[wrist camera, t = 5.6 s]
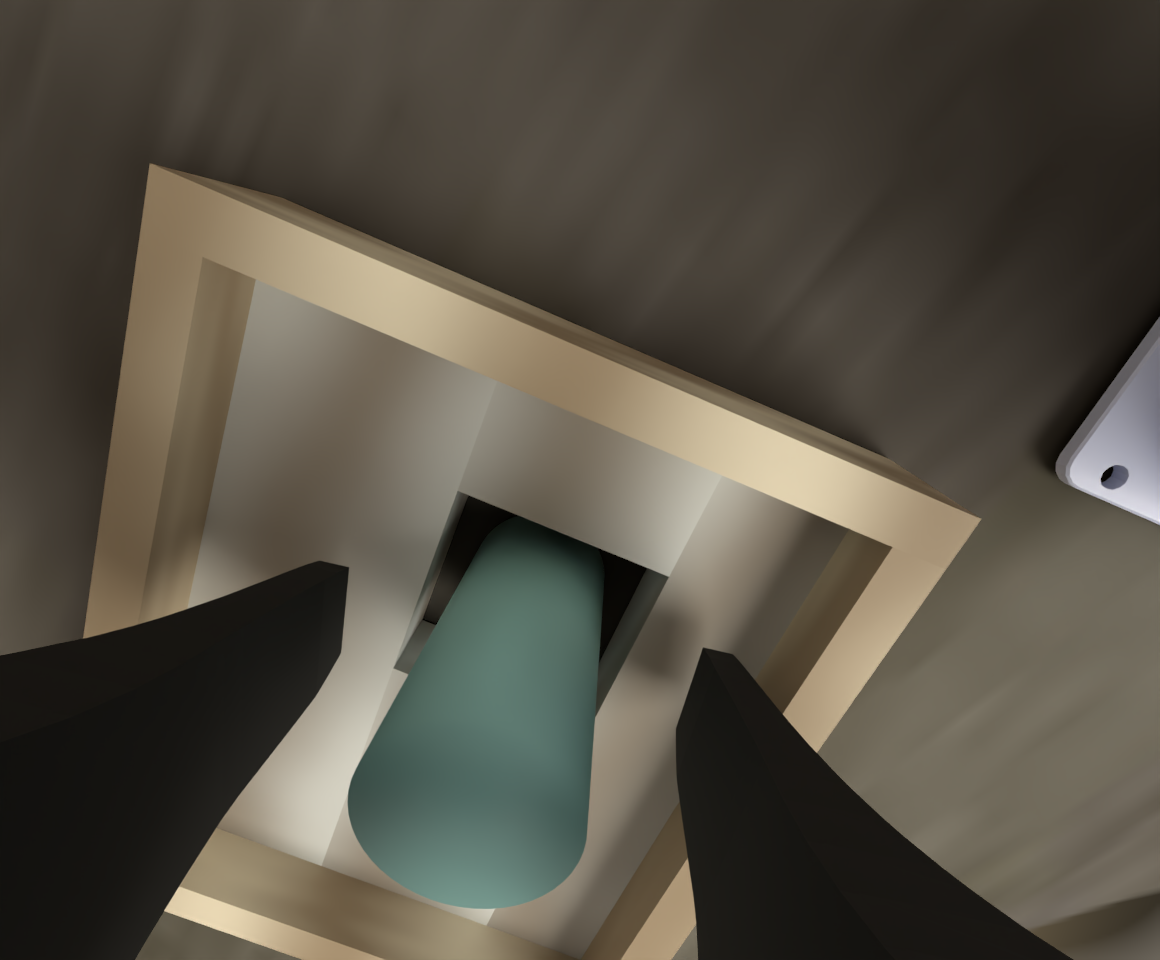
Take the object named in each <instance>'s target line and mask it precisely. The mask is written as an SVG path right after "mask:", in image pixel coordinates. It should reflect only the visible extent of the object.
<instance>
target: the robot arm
mask: <svg viewBox="0 0 1160 960" xmlns="http://www.w3.org/2000/svg"><path fill="white" fill-rule="evenodd" d="M1112 466H1113V473H1112V475H1111V477H1110V478H1108V479H1107V480H1106V481H1104V482H1101V477H1102V474H1103V472H1104V471H1106V470H1107V469H1108V468H1109V467H1112ZM1056 474H1057V476H1058V478H1059V479H1060V480H1061V481H1063V482H1064V483H1065V484H1067V485H1069V486H1072V487H1074V488H1076V489H1079V490H1081V491H1083V492H1085V493H1088V494H1090V495H1092V496H1095V497H1097V498H1099V499H1101V500H1104V501H1106V502H1108V503H1111V504H1113V505H1115V506H1117V507H1120V508H1122V509H1124V510H1127V511H1129V512H1131V513H1134V514H1136V515H1138V516H1140V517H1143V518H1145V519H1147V520H1150V521H1152V522H1154V523H1156V524H1159V525H1160V317H1159V318H1158V320H1157V321H1156V322H1155V324H1154V325H1153V327H1152V328H1151V329H1150V331H1149V332H1148V333H1147V335H1146V336H1145V338H1144V339H1143V340H1142V342H1141V343H1140V345H1139V346H1138V347H1137V349H1136V350H1135V351H1134V353H1133V354H1132V356H1131V357H1130V358H1129V360H1128V361H1127V362H1126V364H1125V365H1124V367H1123V368H1122V369H1121V371H1120V372H1119V374H1118V375H1117V376H1116V378H1115V379H1114V380H1113V382H1112V383H1111V385H1110V386H1109V387H1108V389H1107V390H1106V391H1105V393H1104V394H1103V396H1102V397H1101V398H1100V400H1099V401H1098V402H1097V404H1096V405H1095V407H1094V408H1093V409H1092V411H1091V412H1090V414H1089V415H1088V416H1087V418H1086V419H1085V420H1084V422H1083V423H1082V425H1081V426H1080V427H1079V429H1078V430H1077V431H1076V433H1075V434H1074V436H1073V437H1072V438H1071V440H1070V441H1069V443H1068V444H1067V445H1066V447H1065V448H1064V449H1063V451H1062V452H1061V454H1060V455H1059V457H1058V460H1057V462H1056ZM348 575H349V567H346V566H342V565H337V564H333V563H328V562H324V561H320V560H319V561H316V562H313V563H309V564H307V565H304V566H301V567H298V568H296V569H293V570H290V571H288V572H285V573H282V574H280V575H277V576H275V577H272V578H270V579H267V580H265V581H262V582H259V583H257V584H254V585H252V586H249V587H246V588H244V589H241V590H239V591H236V592H233V593H231V594H228V595H226V596H223V597H220V598H217V599H214V600H211V601H208V602H205V603H203V604H200V605H197V606H194V607H191V608H188V609H185V610H182V611H179V612H176V613H173V614H170V615H168V616H164V617H161V618H158V619H155V620H151V621H148V622H145V623H141V624H138V625H134V626H131V627H127V628H123V629H119V630H115V631H112V632H108V633H104V634H100V635H96V636H92V637H88V638H84V639H79V640H75V641H70V642H65V643H60V644H55V645H50V646H46V647H41V648H36V649H31V650H26V651H21V652H16V653H12V654H6V655H1V656H0V960H135V959H136V957H137V955H138V953H139V952H140V950H141V948H142V947H143V945H144V943H145V941H146V940H147V938H148V936H149V935H150V933H151V932H152V930H153V928H154V927H155V925H156V923H157V922H158V920H159V918H160V917H161V915H162V914H163V912H164V910H165V909H166V907H167V905H168V904H169V902H170V901H171V899H172V897H173V896H174V894H175V892H176V891H177V889H178V887H179V886H180V884H181V883H182V881H183V879H184V878H185V876H186V874H187V873H188V871H189V870H190V868H191V867H192V865H193V864H194V862H195V860H196V859H197V857H198V856H199V854H200V853H201V851H202V849H203V848H204V846H205V845H206V843H207V842H208V840H209V839H210V837H211V835H212V834H213V832H214V831H215V829H216V828H217V826H218V825H219V823H220V821H221V820H222V818H223V817H224V816H225V814H226V813H227V812H228V810H229V809H230V807H231V806H232V805H233V803H234V802H235V800H236V799H237V798H238V796H239V795H240V794H241V792H242V791H243V790H244V788H245V787H246V786H247V785H248V783H249V782H250V781H251V780H252V778H253V777H254V776H255V774H256V773H257V772H258V771H259V769H260V768H261V767H262V765H263V764H264V763H265V762H266V760H267V759H268V758H269V756H270V755H271V754H272V753H273V751H274V750H275V749H276V748H277V746H278V745H279V744H280V742H281V741H282V740H283V739H284V737H285V736H286V735H287V733H288V732H289V731H290V730H291V728H292V727H293V726H294V724H295V723H296V722H297V720H298V719H299V718H300V717H301V715H302V714H303V713H304V711H305V710H306V709H307V707H308V706H309V705H310V703H311V702H312V701H313V699H314V698H315V697H316V695H317V694H318V692H319V690H320V689H321V687H322V685H323V684H324V682H325V680H326V679H327V677H328V675H329V674H330V672H331V670H332V668H333V667H334V665H335V663H336V661H337V659H338V658H339V656H340V654H341V649H342V639H343V628H344V617H345V607H346V596H347V586H348ZM676 776H677V785H678V793H679V800H680V807H681V815H682V822H683V829H684V835H685V842H686V849H687V856H688V863H689V870H690V877H691V883H692V890H693V897H694V906H695V916H696V925H697V943H698V960H1073V959H1071V958H1070V957H1068V956H1067V955H1065V954H1064V953H1062V952H1061V951H1059V950H1057V949H1056V948H1054V947H1053V946H1051V945H1050V944H1048V943H1047V942H1045V941H1043V940H1042V939H1040V938H1039V937H1037V936H1035V935H1034V934H1033V933H1031V932H1030V931H1028V930H1027V929H1025V928H1024V927H1022V926H1021V925H1019V924H1018V923H1017V922H1015V921H1014V920H1012V919H1011V918H1010V917H1008V916H1007V915H1005V914H1004V913H1003V912H1001V911H1000V910H998V909H997V908H996V907H994V906H993V905H991V904H990V903H989V902H987V901H986V900H984V899H983V898H982V897H980V896H979V895H977V894H976V893H975V892H973V891H972V890H971V889H969V888H968V887H967V886H965V885H964V884H963V883H961V882H960V881H959V880H957V879H956V878H955V877H954V876H952V875H951V874H950V873H948V872H947V871H946V870H944V869H943V868H942V867H941V866H939V865H938V864H937V863H936V862H934V861H933V860H932V859H931V858H930V857H928V856H927V855H926V854H925V853H923V852H922V851H921V850H920V849H918V848H917V847H916V846H915V845H914V844H912V843H911V842H910V841H909V840H907V839H906V838H905V837H904V836H903V835H901V834H900V833H899V832H898V831H897V830H896V829H895V828H893V827H892V826H891V825H890V824H889V823H888V822H887V821H885V820H884V819H883V818H882V817H881V816H880V815H879V814H878V813H877V812H876V811H875V810H873V809H872V808H871V807H870V806H869V805H868V804H867V803H866V802H865V801H864V800H863V799H862V798H861V797H860V796H858V795H857V794H856V793H855V792H854V791H853V790H852V789H851V788H850V787H849V786H848V785H847V784H846V783H845V782H844V781H843V780H842V779H841V778H840V777H839V776H838V775H837V774H836V773H835V772H834V771H833V770H832V769H831V768H830V767H829V766H828V765H827V763H826V762H825V761H824V760H823V759H822V758H821V757H820V756H819V755H818V754H817V753H816V752H815V751H814V750H813V748H812V747H811V746H810V745H809V744H808V743H807V742H806V741H805V740H804V738H803V737H802V736H801V735H800V734H799V733H798V732H797V730H796V729H795V728H794V727H793V726H792V725H791V723H790V722H789V721H788V720H787V719H786V718H785V716H784V715H783V714H782V713H781V712H780V710H779V709H778V708H777V707H776V705H775V704H774V703H773V702H772V701H771V699H770V698H769V697H768V696H767V694H766V693H765V692H764V691H763V689H762V688H761V687H760V686H759V685H758V683H757V682H756V681H755V680H754V678H753V677H752V676H751V675H750V673H749V672H748V671H747V670H746V668H745V667H744V666H743V665H742V664H741V662H740V661H739V660H738V659H737V658H736V657H735V656H734V655H733V654H730V653H726V652H721V651H717V650H713V649H708V648H704V647H703V649H702V652H701V655H700V658H699V661H698V664H697V667H696V670H695V673H694V676H693V679H692V682H691V685H690V688H689V691H688V694H687V697H686V700H685V703H684V706H683V709H682V712H681V715H680V718H679V721H678V724H677V727H676Z"/></svg>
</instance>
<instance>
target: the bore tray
mask: <svg viewBox="0 0 1160 960" xmlns="http://www.w3.org/2000/svg"><path fill="white" fill-rule="evenodd" d="M468 495H469V496H472V497H474V498H477V499H479V500H482V501H484V502H486V503H489V504H491V505H494V506H496V507H499V508H501V509H504V510H506V511H509V512H511V513H514V514H516V515H518V516H521V517H523V518H526V519H528V520H531V521H533V522H536V523H538V524H541V525H543V526H545V527H548V528H550V529H553V530H555V531H558V532H560V533H563V534H565V535H568V536H570V537H572V538H575V539H577V540H580V541H582V542H585V543H587V544H590V545H592V546H595V547H597V548H599V549H602V550H604V551H607V552H609V553H612V554H614V555H617V556H619V557H622V558H624V559H626V560H629V561H631V562H634V563H636V564H639V565H641V566H644V567H646V568H647V569H646V571H645V573H644V575H643V577H642V579H641V581H640V583H639V585H638V587H637V589H636V591H635V593H634V595H633V597H632V599H631V601H630V603H629V605H628V607H627V609H626V611H625V613H624V614H623V616H622V618H621V620H620V622H619V624H618V626H617V628H616V630H615V632H614V634H613V636H612V638H611V640H610V642H609V644H608V646H607V648H606V650H605V652H604V654H603V656H602V658H601V660H600V662H599V667H598V681H597V696H596V710H595V725H594V740H593V754H592V769H591V783H590V798H589V813H588V827H587V840H586V844H585V848H584V852H583V854H582V856H581V858H580V861H579V863H578V864H577V866H576V867H575V869H574V870H573V872H572V873H571V874H570V875H569V876H568V877H567V878H566V879H565V881H564V882H562V883H561V884H560V885H559V886H557V887H556V888H555V889H554V890H552V891H550V892H549V893H547V894H545V895H543V896H542V897H539V898H537V899H535V900H532V901H530V902H527V903H523V904H520V905H516V906H511V907H505V908H496V909H472V908H463V907H457V906H452V905H447V904H443V903H440V902H437V901H434V900H430V899H428V898H426V897H423V896H421V895H418V894H416V893H414V892H412V891H410V890H409V889H407V888H405V887H403V886H402V885H400V884H399V883H397V882H396V881H394V880H393V879H391V878H390V877H389V876H388V875H386V874H385V873H384V872H383V871H381V870H380V869H379V868H378V867H377V866H376V864H375V863H374V862H373V861H372V860H371V859H370V858H369V857H368V855H367V854H366V853H365V851H364V850H363V849H362V847H361V845H360V843H359V842H358V840H357V838H356V836H355V834H354V831H353V829H352V826H351V822H350V818H349V814H348V803H347V802H348V790H349V786H350V782H351V779H352V776H353V774H354V772H355V770H356V768H357V766H358V764H359V762H360V760H361V759H362V757H363V755H364V753H365V751H366V750H367V748H368V746H369V744H370V743H371V741H372V739H373V737H374V735H375V734H376V732H377V730H378V728H379V726H380V725H381V723H382V721H383V719H384V717H385V716H386V714H387V712H388V710H389V708H390V707H391V705H392V703H393V701H394V700H395V698H396V696H397V694H398V692H399V691H400V689H401V687H402V685H403V683H404V682H405V680H406V678H407V676H408V674H409V673H410V671H411V669H412V667H413V665H414V664H415V662H416V660H417V658H418V657H419V655H420V653H421V651H422V649H423V648H424V646H425V644H426V642H427V640H428V639H429V637H430V635H431V633H432V631H433V630H434V628H435V626H436V625H434V624H431V623H429V622H426V621H424V620H422V619H423V617H424V614H425V611H426V609H427V606H428V603H429V601H430V598H431V595H432V592H433V590H434V587H435V584H436V582H437V579H438V576H439V574H440V571H441V568H442V565H443V563H444V560H445V557H446V555H447V552H448V549H449V547H450V544H451V541H452V538H453V536H454V533H455V530H456V528H457V525H458V522H459V520H460V517H461V514H462V511H463V509H464V506H465V503H466V501H467V498H468ZM980 520H981V519H980V518H979V517H977V516H976V515H974V514H973V513H971V512H970V511H968V510H967V509H965V508H964V507H962V506H960V505H959V504H957V503H956V502H954V501H953V500H951V499H950V498H948V497H947V496H945V495H944V494H942V493H940V492H939V491H937V490H936V489H934V488H933V487H931V486H930V485H928V484H927V483H925V482H924V481H922V480H920V479H919V478H917V477H916V476H914V475H913V474H911V473H910V472H908V471H907V470H905V469H904V468H902V467H900V466H899V465H897V464H896V463H894V462H893V461H891V460H890V459H888V458H886V457H883V456H881V455H879V454H876V453H874V452H872V451H869V450H867V449H865V448H862V447H860V446H858V445H855V444H853V443H851V442H848V441H846V440H844V439H841V438H839V437H837V436H834V435H832V434H830V433H827V432H825V431H823V430H820V429H818V428H816V427H813V426H811V425H809V424H807V423H804V422H802V421H800V420H797V419H795V418H793V417H790V416H788V415H786V414H783V413H781V412H779V411H776V410H774V409H772V408H769V407H767V406H765V405H762V404H760V403H758V402H755V401H753V400H751V399H748V398H746V397H744V396H741V395H739V394H737V393H734V392H732V391H730V390H728V389H725V388H723V387H721V386H718V385H716V384H714V383H711V382H709V381H707V380H704V379H702V378H700V377H697V376H695V375H693V374H690V373H688V372H686V371H683V370H681V369H679V368H676V367H674V366H672V365H669V364H667V363H665V362H662V361H660V360H658V359H655V358H653V357H651V356H648V355H646V354H644V353H642V352H639V351H637V350H635V349H632V348H630V347H628V346H625V345H623V344H621V343H618V342H616V341H614V340H611V339H609V338H607V337H604V336H602V335H600V334H597V333H595V332H593V331H590V330H588V329H586V328H583V327H581V326H579V325H576V324H574V323H572V322H569V321H567V320H565V319H562V318H560V317H558V316H556V315H553V314H551V313H549V312H546V311H544V310H542V309H539V308H537V307H535V306H532V305H530V304H528V303H525V302H523V301H521V300H518V299H516V298H514V297H511V296H509V295H507V294H504V293H502V292H500V291H497V290H495V289H493V288H490V287H488V286H486V285H483V284H481V283H479V282H477V281H474V280H472V279H470V278H467V277H465V276H463V275H460V274H458V273H456V272H453V271H451V270H449V269H446V268H444V267H442V266H439V265H437V264H435V263H432V262H430V261H428V260H425V259H423V258H421V257H418V256H416V255H414V254H411V253H409V252H407V251H404V250H402V249H400V248H397V247H395V246H393V245H391V244H388V243H386V242H384V241H381V240H379V239H377V238H374V237H372V236H370V235H367V234H365V233H363V232H360V231H358V230H356V229H353V228H351V227H349V226H346V225H344V224H342V223H339V222H337V221H335V220H332V219H330V218H328V217H325V216H323V215H321V214H318V213H316V212H314V211H312V210H309V209H307V208H305V207H302V206H300V205H298V204H295V203H293V202H291V201H288V200H286V199H284V198H281V197H278V196H274V195H270V194H266V193H262V192H259V191H255V190H251V189H247V188H243V187H239V186H236V185H232V184H228V183H224V182H220V181H216V180H212V179H209V178H205V177H201V176H197V175H193V174H189V173H186V172H182V171H178V170H174V169H170V168H166V167H163V166H159V165H155V164H151V163H150V166H149V173H148V180H147V187H146V194H145V202H144V209H143V216H142V223H141V230H140V237H139V244H138V251H137V258H136V266H135V273H134V280H133V287H132V294H131V301H130V308H129V315H128V322H127V330H126V337H125V344H124V351H123V358H122V365H121V372H120V379H119V387H118V394H117V401H116V408H115V415H114V422H113V429H112V436H111V443H110V451H109V458H108V465H107V472H106V479H105V486H104V493H103V500H102V507H101V515H100V522H99V529H98V536H97V543H96V550H95V557H94V564H93V572H92V579H91V586H90V593H89V600H88V607H87V614H86V621H85V628H84V636H83V639H84V638H88V637H92V636H96V635H100V634H104V633H108V632H112V631H115V630H119V629H123V628H127V627H131V626H134V625H138V624H141V623H145V622H148V621H151V620H155V619H158V618H161V617H164V616H168V615H170V614H173V613H176V612H179V611H182V610H185V609H188V608H191V607H194V606H197V605H200V604H203V603H205V602H208V601H211V600H214V599H217V598H220V597H223V596H226V595H228V594H231V593H233V592H236V591H239V590H241V589H244V588H246V587H249V586H252V585H254V584H257V583H259V582H262V581H265V580H267V579H270V578H272V577H275V576H277V575H280V574H282V573H285V572H288V571H290V570H293V569H296V568H298V567H301V566H304V565H307V564H309V563H313V562H316V561H319V560H320V561H324V562H328V563H333V564H337V565H342V566H346V567H349V575H348V586H347V596H346V607H345V617H344V628H343V639H342V649H341V654H340V656H339V658H338V659H337V661H336V663H335V665H334V667H333V668H332V670H331V672H330V674H329V675H328V677H327V679H326V680H325V682H324V684H323V685H322V687H321V689H320V690H319V692H318V694H317V695H316V697H315V698H314V699H313V701H312V702H311V703H310V705H309V706H308V707H307V709H306V710H305V711H304V713H303V714H302V715H301V717H300V718H299V719H298V720H297V722H296V723H295V724H294V726H293V727H292V728H291V730H290V731H289V732H288V733H287V735H286V736H285V737H284V739H283V740H282V741H281V742H280V744H279V745H278V746H277V748H276V749H275V750H274V751H273V753H272V754H271V755H270V756H269V758H268V759H267V760H266V762H265V763H264V764H263V765H262V767H261V768H260V769H259V771H258V772H257V773H256V774H255V776H254V777H253V778H252V780H251V781H250V782H249V783H248V785H247V786H246V787H245V788H244V790H243V791H242V792H241V794H240V795H239V796H238V798H237V799H236V800H235V802H234V803H233V805H232V806H231V807H230V809H229V810H228V812H227V813H226V814H225V816H224V817H223V818H222V820H221V821H220V823H219V825H218V826H217V828H216V829H215V831H214V832H213V834H212V835H211V837H210V839H209V840H208V842H207V843H206V845H205V846H204V848H203V849H202V851H201V853H200V854H199V856H198V857H197V859H196V860H195V862H194V864H193V865H192V867H191V868H190V870H189V871H188V873H187V874H186V876H185V878H184V879H183V881H182V883H181V884H180V886H179V887H178V889H177V891H176V892H175V894H174V896H173V897H172V899H171V901H170V902H169V904H168V905H167V907H166V909H165V910H164V911H166V912H169V913H172V914H174V915H177V916H180V917H183V918H186V919H189V920H191V921H194V922H197V923H200V924H203V925H206V926H209V927H211V928H214V929H217V930H220V931H223V932H226V933H228V934H231V935H234V936H237V937H240V938H243V939H245V940H248V941H251V942H254V943H257V944H260V945H263V946H265V947H268V948H271V949H274V950H277V951H280V952H282V953H285V954H288V955H291V956H294V957H297V958H300V959H302V960H671V959H672V958H673V956H674V955H675V953H676V952H677V951H678V949H679V948H680V946H681V945H682V943H683V942H684V941H685V939H686V938H687V936H688V935H689V934H690V932H691V931H692V929H693V928H694V926H695V925H696V916H695V906H694V897H693V890H692V883H691V877H690V870H689V863H688V856H687V849H686V842H685V835H684V829H683V822H682V815H681V807H680V800H679V793H678V785H677V776H676V727H677V724H678V721H679V718H680V715H681V712H682V709H683V706H684V703H685V700H686V697H687V694H688V691H689V688H690V685H691V682H692V679H693V676H694V673H695V670H696V667H697V664H698V661H699V658H700V655H701V652H702V649H703V647H704V648H708V649H713V650H717V651H721V652H726V653H730V654H733V655H734V656H735V657H736V658H737V659H738V660H739V661H740V662H741V664H742V665H743V666H744V667H745V668H746V670H747V671H748V672H749V673H750V675H751V676H752V677H753V678H754V680H755V681H756V682H757V683H758V685H759V686H760V687H761V688H762V689H763V691H764V692H765V693H766V694H767V696H768V697H769V698H770V699H771V701H772V702H773V703H774V704H775V705H776V707H777V708H778V709H779V710H780V712H781V713H782V714H783V715H784V716H785V718H786V719H787V720H788V721H789V722H790V723H791V725H792V726H793V727H794V728H795V729H796V730H797V732H798V733H799V734H800V735H801V736H802V737H803V738H804V740H805V741H806V742H807V743H808V744H809V745H810V746H811V747H812V748H813V750H814V751H815V752H816V753H817V752H818V750H819V749H820V747H821V746H822V745H823V743H824V742H825V740H826V739H827V738H828V736H829V735H830V733H831V732H832V730H833V729H834V728H835V726H836V725H837V723H838V722H839V720H840V719H841V718H842V716H843V715H844V713H845V712H846V711H847V709H848V708H849V706H850V705H851V703H852V702H853V701H854V699H855V698H856V696H857V695H858V693H859V692H860V691H861V689H862V688H863V686H864V685H865V684H866V682H867V681H868V679H869V678H870V676H871V675H872V674H873V672H874V671H875V669H876V668H877V667H878V665H879V664H880V662H881V661H882V659H883V658H884V657H885V655H886V654H887V652H888V651H889V649H890V648H891V647H892V645H893V644H894V642H895V641H896V640H897V638H898V637H899V635H900V634H901V632H902V631H903V630H904V628H905V627H906V625H907V624H908V622H909V621H910V620H911V618H912V617H913V615H914V614H915V613H916V611H917V610H918V608H919V607H920V605H921V604H922V603H923V601H924V600H925V598H926V597H927V595H928V594H929V593H930V591H931V590H932V588H933V587H934V586H935V584H936V583H937V581H938V580H939V578H940V577H941V576H942V574H943V573H944V571H945V570H946V569H947V567H948V566H949V564H950V563H951V561H952V560H953V559H954V557H955V556H956V554H957V553H958V551H959V550H960V549H961V547H962V546H963V544H964V543H965V542H966V540H967V539H968V537H969V536H970V534H971V533H972V532H973V530H974V529H975V527H976V526H977V524H978V523H979V522H980Z"/></svg>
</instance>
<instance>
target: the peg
mask: <svg viewBox="0 0 1160 960" xmlns="http://www.w3.org/2000/svg"><path fill="white" fill-rule="evenodd" d="M604 579H605V573H604V565H603V560H602V558H601V555H600V552H599V550H598V549H597V547H595V546H592V545H590V544H587V543H585V542H582V541H580V540H577V539H575V538H572V537H570V536H568V535H565V534H563V533H560V532H558V531H555V530H553V529H550V528H548V527H545V526H543V525H541V524H538V523H536V522H533V521H531V520H528V519H526V518H523V517H521V516H516V517H513V518H510V519H508V520H506V521H504V522H502V523H501V524H499V525H498V526H496V527H495V528H494V529H493V530H492V531H491V532H490V533H489V534H488V535H487V536H486V537H485V539H484V541H483V542H482V544H481V545H480V547H479V549H478V551H477V553H476V554H475V556H474V558H473V560H472V562H471V563H470V565H469V567H468V569H467V570H466V572H465V574H464V576H463V578H462V579H461V581H460V583H459V585H458V587H457V588H456V590H455V592H454V594H453V596H452V597H451V599H450V601H449V603H448V605H447V606H446V608H445V610H444V612H443V613H442V615H441V617H440V619H439V621H438V622H437V624H436V626H435V628H434V630H433V631H432V633H431V635H430V637H429V639H428V640H427V642H426V644H425V646H424V648H423V649H422V651H421V653H420V655H419V657H418V658H417V660H416V662H415V664H414V665H413V667H412V669H411V671H410V673H409V674H408V676H407V678H406V680H405V682H404V683H403V685H402V687H401V689H400V691H399V692H398V694H397V696H396V698H395V700H394V701H393V703H392V705H391V707H390V708H389V710H388V712H387V714H386V716H385V717H384V719H383V721H382V723H381V725H380V726H379V728H378V730H377V732H376V734H375V735H374V737H373V739H372V741H371V743H370V744H369V746H368V748H367V750H366V751H365V753H364V755H363V757H362V759H361V760H360V762H359V764H358V766H357V768H356V770H355V772H354V774H353V776H352V779H351V782H350V786H349V790H348V802H347V803H348V814H349V818H350V822H351V826H352V829H353V831H354V834H355V836H356V838H357V840H358V842H359V843H360V845H361V847H362V849H363V850H364V851H365V853H366V854H367V855H368V857H369V858H370V859H371V860H372V861H373V862H374V863H375V864H376V866H377V867H378V868H379V869H380V870H381V871H383V872H384V873H385V874H386V875H388V876H389V877H390V878H391V879H393V880H394V881H396V882H397V883H399V884H400V885H402V886H403V887H405V888H407V889H409V890H410V891H412V892H414V893H416V894H418V895H421V896H423V897H426V898H428V899H430V900H434V901H437V902H440V903H443V904H447V905H452V906H457V907H463V908H472V909H496V908H505V907H511V906H516V905H520V904H523V903H527V902H530V901H532V900H535V899H537V898H539V897H542V896H543V895H545V894H547V893H549V892H550V891H552V890H554V889H555V888H556V887H557V886H559V885H560V884H561V883H562V882H564V881H565V879H566V878H567V877H568V876H569V875H570V874H571V873H572V872H573V870H574V869H575V867H576V866H577V864H578V863H579V861H580V858H581V856H582V854H583V852H584V848H585V844H586V840H587V827H588V813H589V798H590V783H591V769H592V754H593V740H594V725H595V710H596V696H597V681H598V667H599V652H600V637H601V623H602V608H603V594H604Z"/></svg>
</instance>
